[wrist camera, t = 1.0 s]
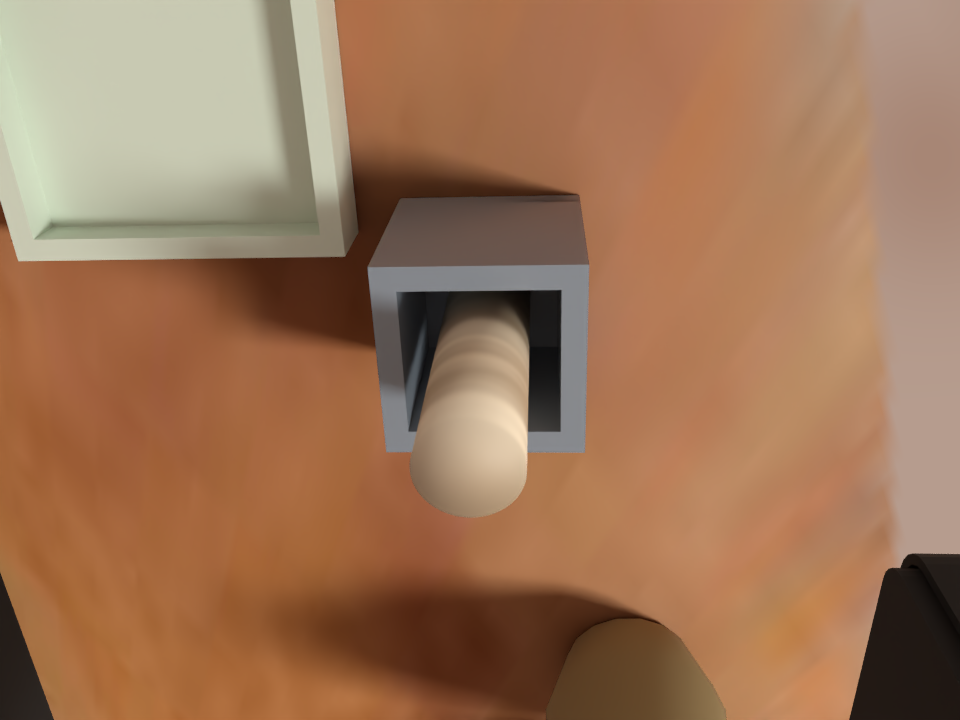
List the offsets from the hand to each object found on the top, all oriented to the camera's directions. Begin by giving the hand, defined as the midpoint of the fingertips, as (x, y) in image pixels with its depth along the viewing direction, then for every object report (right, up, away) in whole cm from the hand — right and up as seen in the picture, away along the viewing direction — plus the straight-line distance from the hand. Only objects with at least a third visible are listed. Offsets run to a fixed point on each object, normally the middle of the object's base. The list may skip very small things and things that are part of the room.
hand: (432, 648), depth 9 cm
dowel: (+1, +6, +23) cm, 24 cm away
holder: (+1, +6, +24) cm, 25 cm away
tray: (-10, +14, +21) cm, 27 cm away
